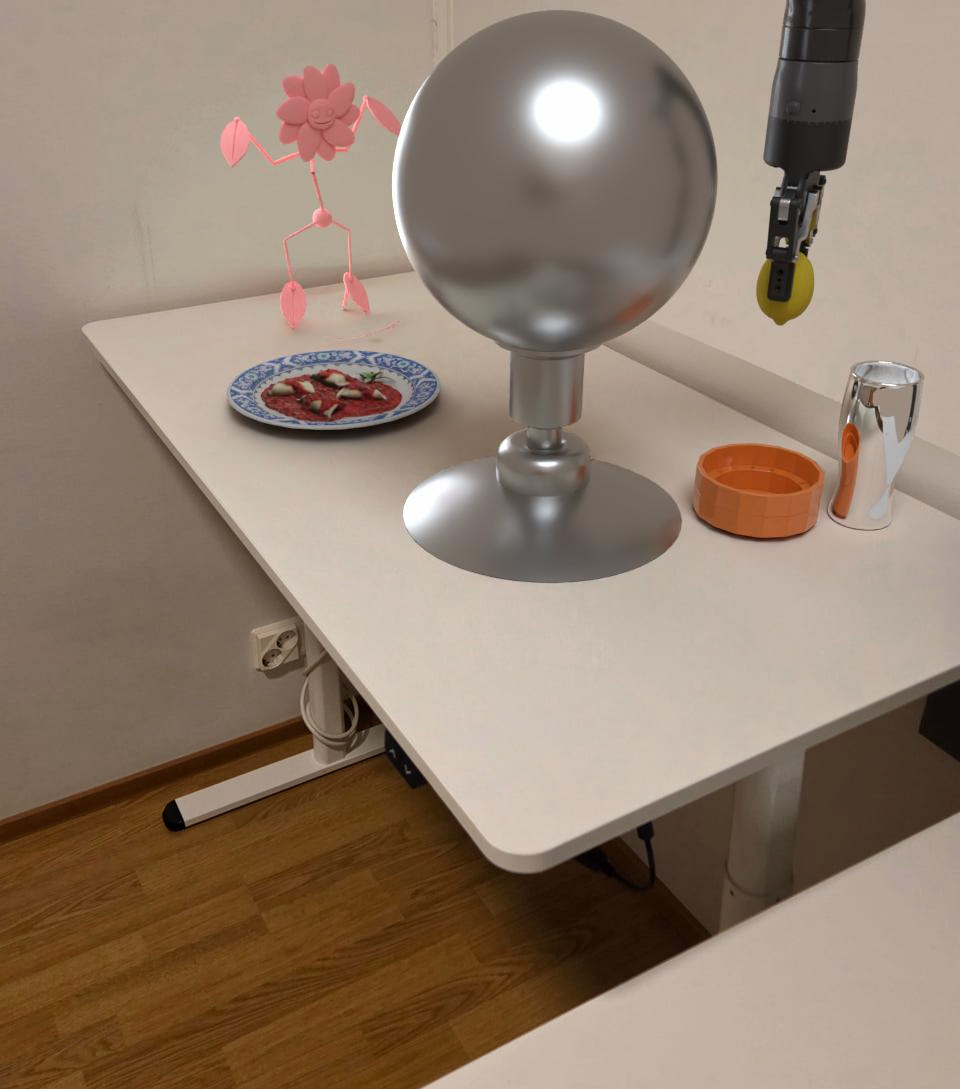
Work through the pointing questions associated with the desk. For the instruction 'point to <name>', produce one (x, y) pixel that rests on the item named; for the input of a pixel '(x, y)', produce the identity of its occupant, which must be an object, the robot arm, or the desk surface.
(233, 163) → the figurine
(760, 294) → the lemon
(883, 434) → the beer glass
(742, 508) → the bowl
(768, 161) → the robot arm
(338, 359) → the ceramic plate
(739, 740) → the desk surface
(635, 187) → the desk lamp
